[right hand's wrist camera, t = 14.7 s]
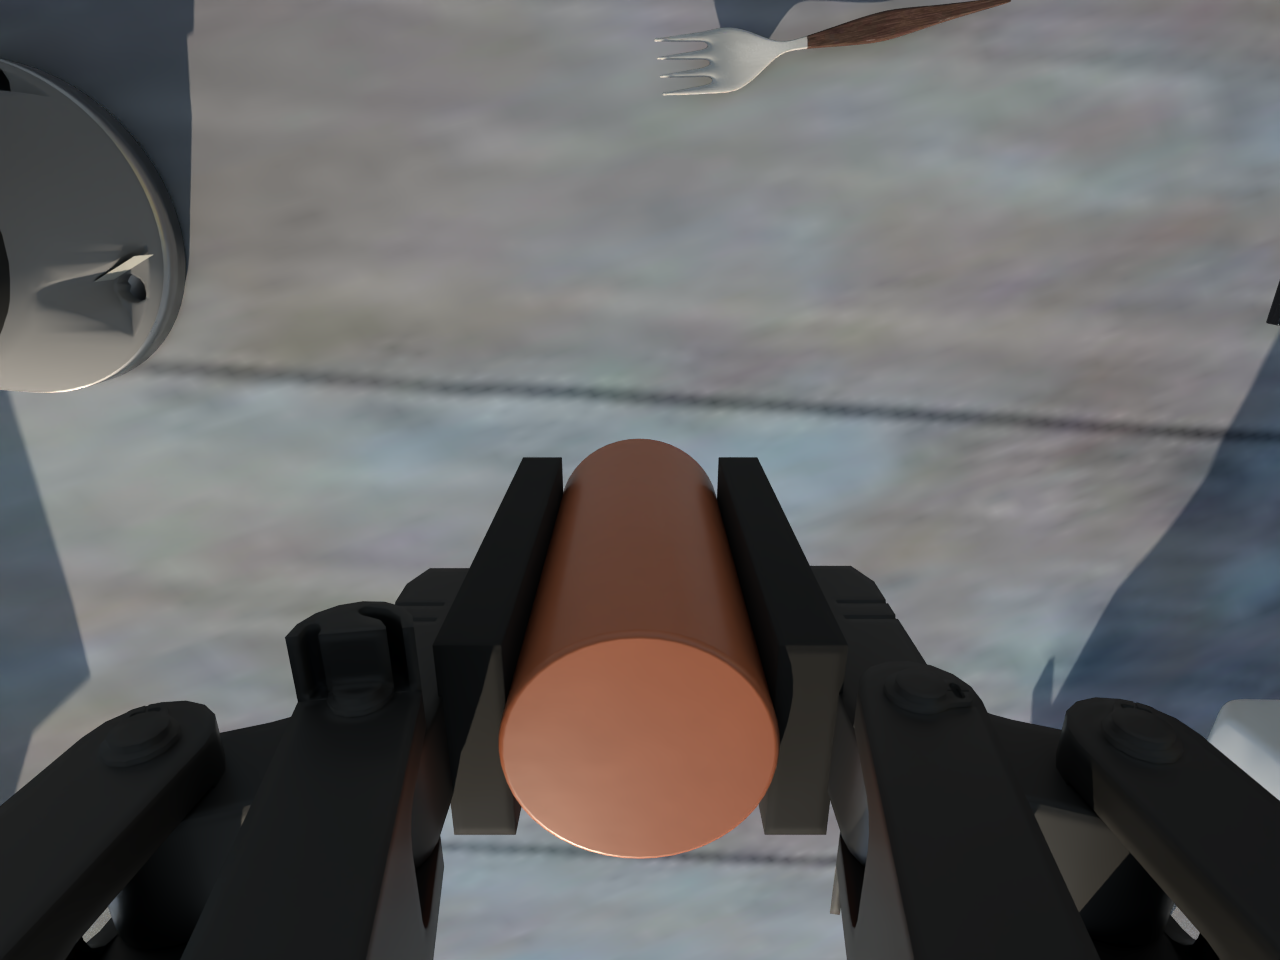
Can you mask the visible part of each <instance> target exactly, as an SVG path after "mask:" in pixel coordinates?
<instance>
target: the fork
mask: <svg viewBox="0 0 1280 960" xmlns="http://www.w3.org/2000/svg"><path fill="white" fill-rule="evenodd" d="M1008 2H1011V0H978V1H969V2H961V3H952V4H943V5H932V6H921V7H910V8H901V9H894V10H888V11H883V12H879V13H875V14H872V15H868V16H865V17H862V18H859V19H856V20H853V21H850V22H847V23H844V24H841V25H838V26H835V27H832V28H829V29H826V30H823V31H820V32H817V33H814V34H811V35H808V36H805V37H802V38H799V39H795V40H791V41H783V42H782V41H775V40H771V39H768V38H765V37H762V36H760V35H757V34H755V33H752V32H749V31H746V30H742V29H738V28H718V29H713V30H709V31H704V32H698V33H692V34H685V35H678V36H672V37H665V38H655V39H654V41H671V42H705V43H707V45H708V46H707V48H705V49H703V50H699V51H693V52H687V53H681V54H675V55H669V56H663V57H658V58H657V59H672V60H685V59H705V60H708V61H709V62H710V64H709V66H707V67H704V68H699V69H694V70H688V71H682V72H677V73H671V74H666V75H661V76H660V77H710V78H711V79H712V82H711V83H710V84H707V85H703V86H698V87H693V88H687V89H682V90H677V91H672V92H664V93H663V95H688V94H707V93H726V92H731V91H735V90H738V89H740V88H742V87H743V86H745V85H746V84H748V83H749V82H750V81H752V80H753V79H754V78H755V77H756V76H757V75H758V74H759V73H761V72H762V71H763V70H764V69H765V68H766V67H767V66H768V65H769V64H770V63H771V62H772V61H773V60H774V59H776V58H777V57H778V56H780V55H781V54H783V53H785V52H788V51H792V50H799V49H809V48H822V47H835V46H848V45H859V44H867V43H875V42H880V41H885V40H889V39H893V38H896V37H900V36H903V35H906V34H909V33H912V32H915V31H918V30H921V29H924V28H927V27H930V26H933V25H936V24H939V23H942V22H945V21H948V20H952V19H955V18H958V17H961V16H965V15H968V14H971V13H975V12H978V11H982V10H985V9H989V8H992V7H995V6H999V5H1002V4H1005V3H1008Z"/></svg>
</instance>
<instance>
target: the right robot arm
mask: <svg viewBox="0 0 1280 960" xmlns="http://www.w3.org/2000/svg"><path fill="white" fill-rule="evenodd" d="M185 273H186V261H185V250H184V243H183V237H182V232H181V228H180V224H179V221H178V217H177V214H176V211H175V208H174V206H173V203H172V200H171V198H170V196H169V193H168V191H167V189H166V187H165V185H164V183H163V181H162V179H161V177H160V176H159V174H158V172H157V170H156V169H155V167H154V165H153V164H152V162H151V161H150V159H149V158H148V156H147V155H146V154H145V152H144V151H143V149H142V148H141V147H140V146H139V144H138V143H137V142H136V141H135V139H134V138H133V137H132V136H131V135H130V133H129V132H128V131H127V130H126V129H125V128H124V127H123V126H122V125H121V124H120V123H119V122H118V121H117V120H116V119H115V118H114V117H113V116H112V115H111V114H110V113H108V112H107V111H106V110H105V109H104V108H103V107H101V106H100V105H99V104H98V103H96V102H95V101H94V100H93V99H91V98H90V97H89V96H87V95H86V94H84V93H83V92H81V91H80V90H78V89H77V88H75V87H73V86H72V85H70V84H68V83H66V82H64V81H63V80H61V79H59V78H57V77H55V76H53V75H50V74H48V73H46V72H44V71H42V70H39V69H36V68H33V67H30V66H27V65H24V64H20V63H16V62H12V61H8V60H4V59H0V390H9V391H22V392H37V393H53V392H65V391H71V390H76V389H80V388H84V387H87V386H91V385H94V384H97V383H100V382H103V381H106V380H109V379H113V378H115V377H117V376H120V375H122V374H125V373H127V372H128V371H130V370H132V369H134V368H135V367H137V366H138V365H140V364H141V363H142V362H144V361H145V360H146V359H148V358H149V357H150V356H151V355H152V354H153V353H154V352H155V351H156V350H157V349H158V347H159V346H160V345H161V344H162V342H163V341H164V340H165V338H166V337H167V335H168V334H169V332H170V330H171V328H172V326H173V324H174V322H175V320H176V318H177V315H178V312H179V309H180V306H181V302H182V298H183V293H184V286H185ZM562 496H563V476H562V458H523V459H522V461H521V463H520V465H519V467H518V469H517V471H516V474H515V476H514V478H513V480H512V482H511V484H510V486H509V488H508V490H507V492H506V494H505V496H504V498H503V500H502V502H501V505H500V507H499V509H498V511H497V513H496V515H495V517H494V519H493V521H492V523H491V525H490V527H489V529H488V531H487V533H486V536H485V538H484V540H483V542H482V544H481V546H480V548H479V550H478V552H477V554H476V556H475V558H474V560H473V562H472V564H471V566H470V568H430V569H428V570H427V571H425V572H424V573H422V574H421V575H419V576H418V577H416V578H415V579H413V580H412V581H411V582H409V583H408V584H407V585H406V586H405V588H404V589H403V591H402V593H401V594H400V596H399V597H398V599H397V600H396V602H395V605H394V604H391V603H387V602H368V601H362V602H356V603H350V604H344V605H338V606H336V607H333V608H330V609H327V610H324V611H321V612H318V613H316V614H314V615H312V616H310V617H309V618H307V619H305V620H304V621H302V622H300V623H299V624H297V625H296V626H295V627H294V628H293V629H292V630H291V632H290V633H289V634H288V635H287V636H286V637H285V639H286V644H287V649H288V654H289V659H290V664H291V669H292V674H293V679H294V684H295V689H296V694H297V699H298V703H297V705H296V707H295V710H294V712H293V714H292V716H291V717H289V718H285V719H282V720H278V721H274V722H271V723H266V724H261V725H256V726H252V727H247V728H242V729H237V730H232V731H227V732H222V733H219V729H218V725H217V721H216V717H215V714H214V713H213V712H212V711H211V710H210V709H209V708H208V707H207V706H205V705H203V704H199V703H194V702H190V701H174V702H161V703H156V704H150V705H148V706H142V707H139V708H136V709H133V710H130V711H128V712H127V713H125V714H122V715H120V716H118V717H116V718H113V719H111V720H109V721H107V722H105V723H103V724H102V725H100V726H99V727H97V728H96V729H94V730H93V731H91V732H90V733H88V734H87V735H85V736H84V737H82V738H81V739H80V740H79V741H78V742H76V743H75V744H74V745H73V746H72V747H70V748H69V749H68V750H67V751H66V752H64V753H63V754H62V755H61V756H60V757H58V758H57V759H56V760H55V761H54V762H52V763H51V764H50V765H49V766H48V767H47V768H45V769H44V770H43V771H42V772H41V773H39V774H38V775H37V776H36V777H35V778H33V779H32V780H31V781H30V782H29V783H27V784H26V785H25V786H24V787H23V788H21V789H20V790H19V791H18V792H17V793H15V794H14V795H13V796H12V797H11V798H10V799H8V800H7V801H6V802H5V803H4V804H2V805H1V806H0V960H433V957H434V948H435V940H436V931H437V923H438V914H439V905H440V897H441V888H442V880H443V871H444V862H443V854H442V846H441V838H440V834H441V831H442V828H443V825H444V822H445V818H446V815H447V812H448V809H449V806H450V803H451V809H452V818H453V826H454V835H516V831H517V826H518V821H519V816H520V811H521V805H520V804H519V802H518V801H517V799H516V798H515V797H514V795H513V793H512V791H511V789H510V787H509V785H508V783H507V781H506V778H505V775H504V772H503V769H502V766H501V761H500V755H499V729H500V723H501V718H502V715H503V711H504V708H505V705H506V702H507V698H508V694H509V691H510V687H511V683H512V680H513V676H514V672H515V669H516V665H517V661H518V658H519V654H520V650H521V647H522V643H523V639H524V635H525V632H526V628H527V624H528V621H529V617H530V613H531V610H532V606H533V602H534V599H535V595H536V591H537V588H538V584H539V580H540V577H541V573H542V569H543V566H544V562H545V558H546V555H547V551H548V547H549V544H550V540H551V536H552V533H553V529H554V525H555V522H556V518H557V514H558V511H559V507H560V503H561V500H562ZM717 501H718V505H719V509H720V512H721V516H722V520H723V523H724V527H725V531H726V534H727V538H728V542H729V545H730V549H731V553H732V556H733V560H734V564H735V567H736V571H737V575H738V578H739V582H740V586H741V589H742V593H743V597H744V600H745V604H746V608H747V611H748V615H749V619H750V622H751V626H752V630H753V633H754V637H755V641H756V644H757V648H758V652H759V655H760V659H761V663H762V666H763V670H764V674H765V677H766V681H767V685H768V688H769V692H770V696H771V699H772V703H773V707H774V710H775V714H776V717H777V722H778V728H779V734H780V751H779V757H778V763H777V767H776V770H775V773H774V776H773V779H772V782H771V784H770V786H769V788H768V790H767V792H766V794H765V795H764V797H763V798H762V800H761V801H760V803H759V808H760V813H761V818H762V823H763V828H764V833H765V835H826V831H827V822H828V814H829V805H830V801H831V804H832V807H833V810H834V813H835V816H836V819H837V822H838V825H839V828H840V838H839V846H838V854H837V862H836V870H835V878H834V885H833V893H832V901H831V909H830V914H837V915H840V909H841V912H842V921H843V930H844V938H845V947H846V955H847V960H1280V801H1279V800H1278V799H1277V798H1276V797H1275V796H1273V795H1272V794H1271V793H1270V792H1269V791H1267V790H1266V789H1265V788H1264V787H1263V786H1261V785H1260V784H1259V783H1258V782H1257V781H1255V780H1254V779H1253V778H1252V777H1251V776H1249V775H1248V774H1247V773H1246V772H1245V771H1243V770H1242V769H1241V768H1240V767H1239V766H1237V765H1236V764H1235V763H1234V762H1233V761H1231V760H1230V759H1229V758H1228V757H1227V756H1225V755H1224V754H1223V753H1222V752H1221V751H1219V750H1218V749H1217V748H1216V747H1214V746H1213V745H1212V744H1211V743H1210V742H1208V741H1207V740H1206V739H1205V738H1204V737H1202V736H1201V735H1200V734H1199V733H1197V732H1196V731H1194V730H1193V729H1191V728H1190V727H1188V726H1186V725H1185V724H1183V723H1182V722H1180V721H1179V720H1177V719H1176V718H1174V717H1171V716H1169V715H1167V714H1164V713H1162V712H1160V711H1158V710H1155V709H1154V708H1152V707H1150V706H1147V705H1144V704H1140V703H1133V701H1128V700H1122V699H1111V698H1096V697H1095V698H1091V699H1086V700H1081V701H1077V702H1076V703H1075V704H1074V705H1072V706H1071V707H1070V708H1069V709H1068V710H1067V711H1066V715H1065V719H1064V723H1063V727H1062V730H1059V729H1054V728H1050V727H1045V726H1040V725H1035V724H1030V723H1025V722H1020V721H1015V720H1011V719H1007V718H1003V717H1000V716H996V715H992V714H990V713H987V711H986V708H985V706H984V704H983V702H982V700H981V699H980V698H979V696H978V695H977V694H976V693H975V691H974V690H973V689H972V687H971V686H969V685H968V684H966V683H965V682H963V681H962V680H961V679H959V678H958V677H956V676H955V675H953V674H951V673H949V672H946V671H944V670H941V669H939V668H936V667H934V666H931V665H927V664H926V662H925V661H924V659H923V657H922V656H921V654H920V653H919V651H918V650H917V648H916V647H915V645H914V643H913V642H912V640H911V639H910V637H909V636H908V634H907V632H906V631H905V629H904V628H903V626H902V625H901V623H900V622H899V620H898V619H896V618H895V614H894V612H893V611H892V609H891V607H890V606H889V604H888V603H886V600H885V598H884V597H883V595H882V593H881V592H880V590H879V589H878V587H877V586H876V584H875V582H874V581H872V580H871V579H869V578H868V577H866V576H865V575H864V574H862V573H861V572H859V571H858V570H856V569H855V568H853V567H852V566H810V565H809V563H808V561H807V559H806V557H805V555H804V553H803V551H802V549H801V547H800V545H799V543H798V541H797V538H796V536H795V534H794V532H793V530H792V528H791V526H790V524H789V522H788V520H787V518H786V516H785V514H784V512H783V510H782V508H781V505H780V503H779V501H778V499H777V497H776V495H775V493H774V491H773V489H772V487H771V485H770V483H769V481H768V479H767V477H766V475H765V472H764V470H763V468H762V466H761V464H760V462H759V460H758V458H757V457H719V464H718V489H717ZM1174 903H1175V904H1176V905H1177V907H1178V908H1179V909H1180V910H1181V911H1182V912H1183V914H1184V915H1185V916H1186V917H1187V918H1188V919H1189V920H1190V922H1191V923H1192V924H1193V925H1194V926H1195V927H1196V928H1197V930H1198V931H1199V932H1200V934H1199V937H1198V938H1197V940H1195V939H1193V938H1192V937H1191V936H1189V935H1188V934H1187V933H1186V932H1185V931H1184V930H1183V929H1182V928H1181V927H1180V926H1179V924H1178V923H1177V922H1176V921H1175V920H1174V919H1173V917H1172V916H1171V915H1170V913H1171V910H1172V907H1173V904H1174ZM107 907H108V908H109V911H110V914H111V916H112V918H111V919H110V920H109V921H108V922H107V923H106V925H105V926H104V927H103V928H102V929H101V931H100V932H98V933H97V934H96V935H95V936H94V937H93V938H91V939H90V940H89V941H88V942H87V943H86V942H85V941H84V940H83V938H82V936H83V935H84V934H85V932H86V931H87V930H88V929H89V928H90V927H91V925H92V924H93V923H94V922H95V921H96V920H97V919H98V917H99V916H100V915H101V914H102V913H103V912H104V910H105V909H106V908H107Z"/></svg>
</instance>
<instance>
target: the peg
mask: <svg viewBox="0 0 1280 960" xmlns="http://www.w3.org/2000/svg"><path fill="white" fill-rule="evenodd" d="M779 751H780V734H779V728H778V722H777V717H776V714H775V710H774V707H773V703H772V699H771V696H770V692H769V688H768V685H767V681H766V677H765V674H764V670H763V666H762V663H761V659H760V655H759V652H758V648H757V644H756V641H755V637H754V633H753V630H752V626H751V622H750V619H749V615H748V611H747V608H746V604H745V600H744V597H743V593H742V589H741V586H740V582H739V578H738V575H737V571H736V567H735V564H734V560H733V556H732V553H731V549H730V545H729V542H728V538H727V534H726V531H725V527H724V523H723V520H722V516H721V512H720V509H719V505H718V501H717V498H716V494H715V491H714V488H713V485H712V483H711V481H710V479H709V477H708V476H707V474H706V473H705V471H704V470H703V468H702V467H701V466H700V465H699V464H698V463H697V462H696V461H695V460H694V459H693V458H692V457H690V456H689V455H688V454H686V453H685V452H683V451H682V450H680V449H678V448H676V447H674V446H672V445H670V444H667V443H664V442H660V441H655V440H650V439H628V440H623V441H618V442H615V443H612V444H609V445H606V446H604V447H602V448H600V449H598V450H596V451H595V452H593V453H592V454H590V455H589V456H588V457H587V458H585V459H584V460H583V461H582V462H581V463H580V464H579V465H578V466H577V468H576V469H575V470H574V472H573V473H572V475H571V476H570V478H569V480H568V482H567V484H566V486H565V489H564V492H563V496H562V500H561V503H560V507H559V511H558V514H557V518H556V522H555V525H554V529H553V533H552V536H551V540H550V544H549V547H548V551H547V555H546V558H545V562H544V566H543V569H542V573H541V577H540V580H539V584H538V588H537V591H536V595H535V599H534V602H533V606H532V610H531V613H530V617H529V621H528V624H527V628H526V632H525V635H524V639H523V643H522V647H521V650H520V654H519V658H518V661H517V665H516V669H515V672H514V676H513V680H512V683H511V687H510V691H509V694H508V698H507V702H506V705H505V708H504V711H503V715H502V718H501V723H500V729H499V755H500V761H501V766H502V769H503V772H504V775H505V778H506V781H507V783H508V785H509V787H510V789H511V791H512V793H513V795H514V797H515V798H516V799H517V801H518V802H519V804H520V805H521V807H522V808H523V809H524V810H525V811H526V812H527V813H528V814H529V815H530V816H531V818H532V819H533V820H535V821H536V822H537V823H538V824H539V825H541V826H542V827H543V828H544V829H546V830H547V831H549V832H550V833H552V834H553V835H555V836H556V837H558V838H560V839H562V840H564V841H566V842H568V843H570V844H572V845H574V846H577V847H579V848H582V849H585V850H588V851H591V852H595V853H599V854H603V855H608V856H614V857H621V858H657V857H664V856H670V855H675V854H679V853H683V852H687V851H691V850H693V849H696V848H699V847H701V846H704V845H706V844H708V843H710V842H712V841H714V840H716V839H718V838H720V837H722V836H723V835H725V834H726V833H728V832H729V831H731V830H733V829H734V828H735V827H736V826H738V825H739V824H740V823H741V822H742V821H744V820H745V819H746V818H747V817H748V816H749V815H750V813H751V812H752V811H753V810H754V809H755V808H756V807H757V805H758V804H759V803H760V801H761V800H762V798H763V797H764V795H765V794H766V792H767V790H768V788H769V786H770V784H771V782H772V779H773V776H774V773H775V770H776V767H777V763H778V757H779Z"/></svg>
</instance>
